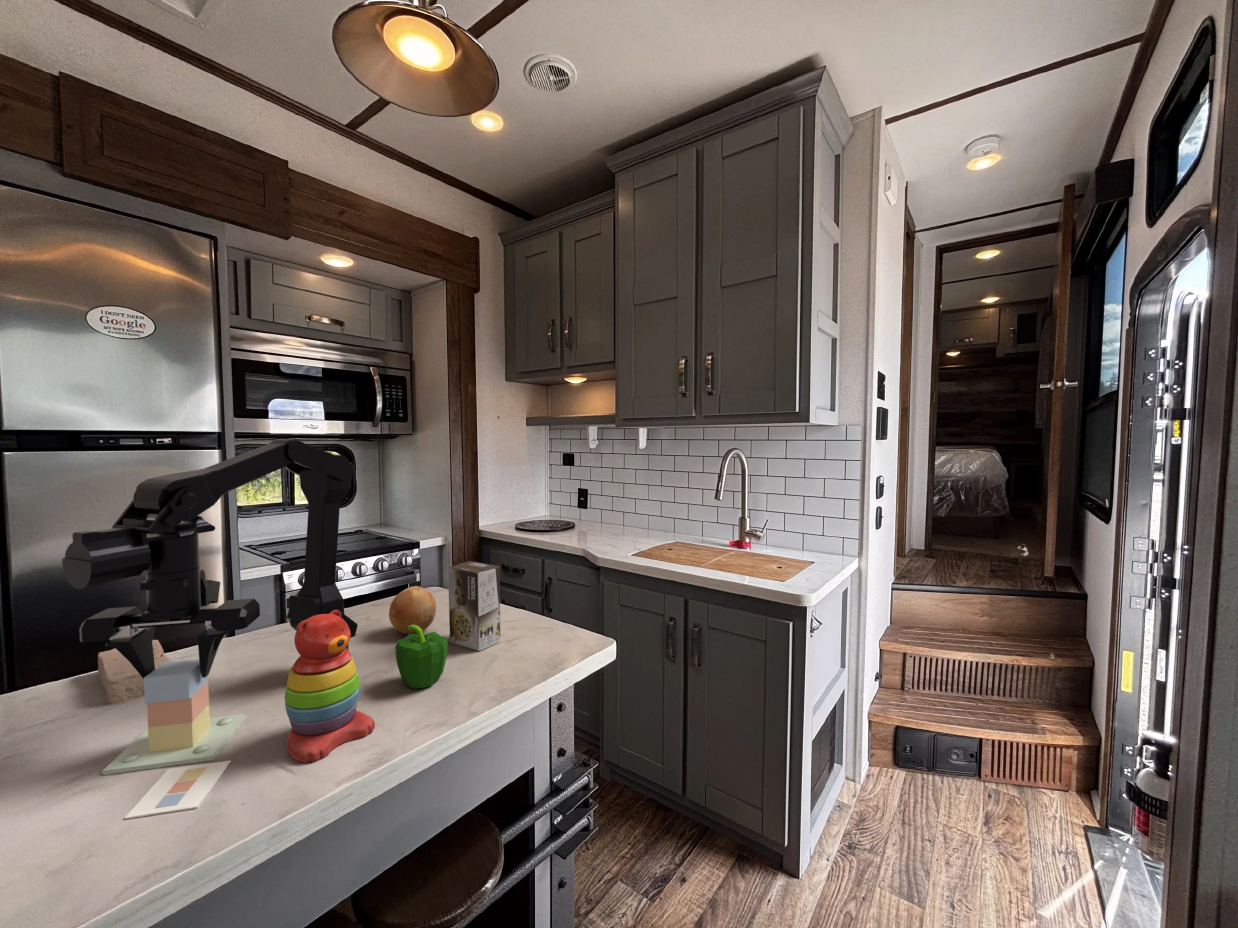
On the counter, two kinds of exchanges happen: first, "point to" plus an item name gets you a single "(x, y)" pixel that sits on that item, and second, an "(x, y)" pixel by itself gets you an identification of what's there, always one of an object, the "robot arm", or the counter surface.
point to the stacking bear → (323, 690)
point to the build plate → (180, 755)
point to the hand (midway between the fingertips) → (178, 679)
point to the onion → (412, 609)
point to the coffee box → (474, 605)
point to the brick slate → (173, 681)
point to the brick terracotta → (178, 709)
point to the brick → (124, 674)
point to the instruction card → (179, 789)
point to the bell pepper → (421, 657)
